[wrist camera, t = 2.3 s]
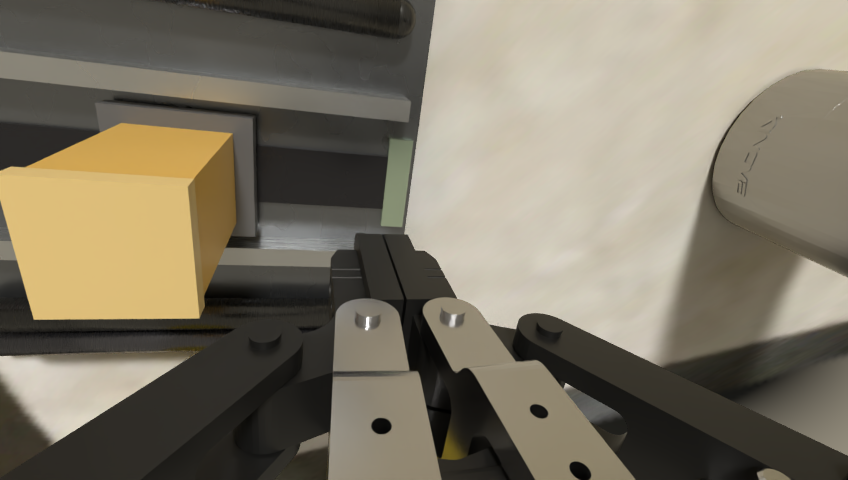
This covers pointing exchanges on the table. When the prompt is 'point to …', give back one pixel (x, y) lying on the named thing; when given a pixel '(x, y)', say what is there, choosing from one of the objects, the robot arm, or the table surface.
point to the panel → (236, 93)
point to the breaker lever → (133, 212)
